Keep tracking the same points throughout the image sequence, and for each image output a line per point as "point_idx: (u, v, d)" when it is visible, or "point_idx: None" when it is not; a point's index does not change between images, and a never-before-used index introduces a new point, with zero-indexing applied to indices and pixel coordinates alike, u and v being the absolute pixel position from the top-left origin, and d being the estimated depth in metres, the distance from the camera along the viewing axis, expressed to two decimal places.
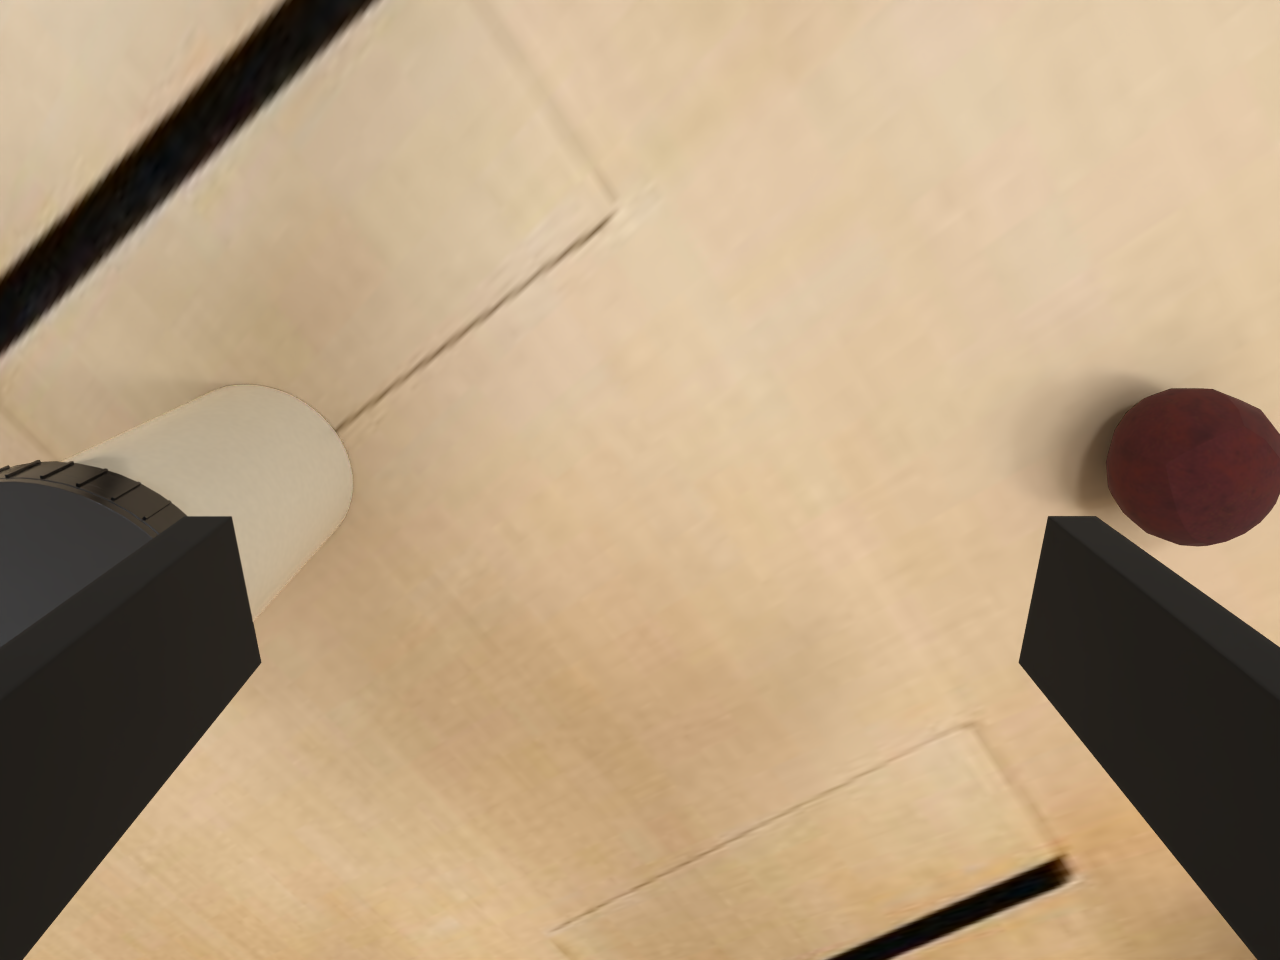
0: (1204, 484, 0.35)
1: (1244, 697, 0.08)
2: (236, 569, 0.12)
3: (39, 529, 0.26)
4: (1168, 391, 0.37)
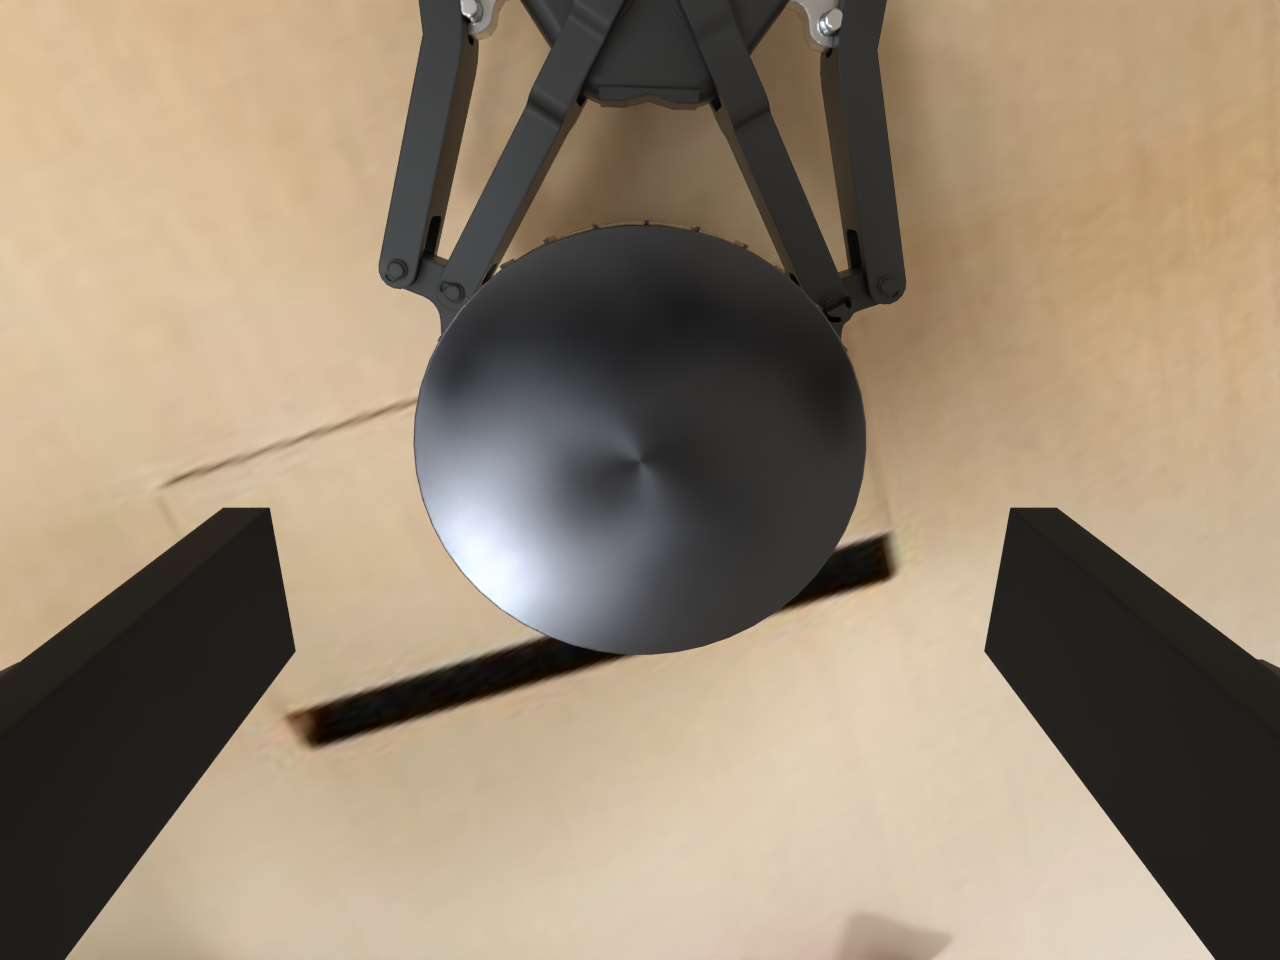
0: None
1: (1181, 678, 0.09)
2: (274, 559, 0.13)
3: (574, 587, 0.20)
4: None
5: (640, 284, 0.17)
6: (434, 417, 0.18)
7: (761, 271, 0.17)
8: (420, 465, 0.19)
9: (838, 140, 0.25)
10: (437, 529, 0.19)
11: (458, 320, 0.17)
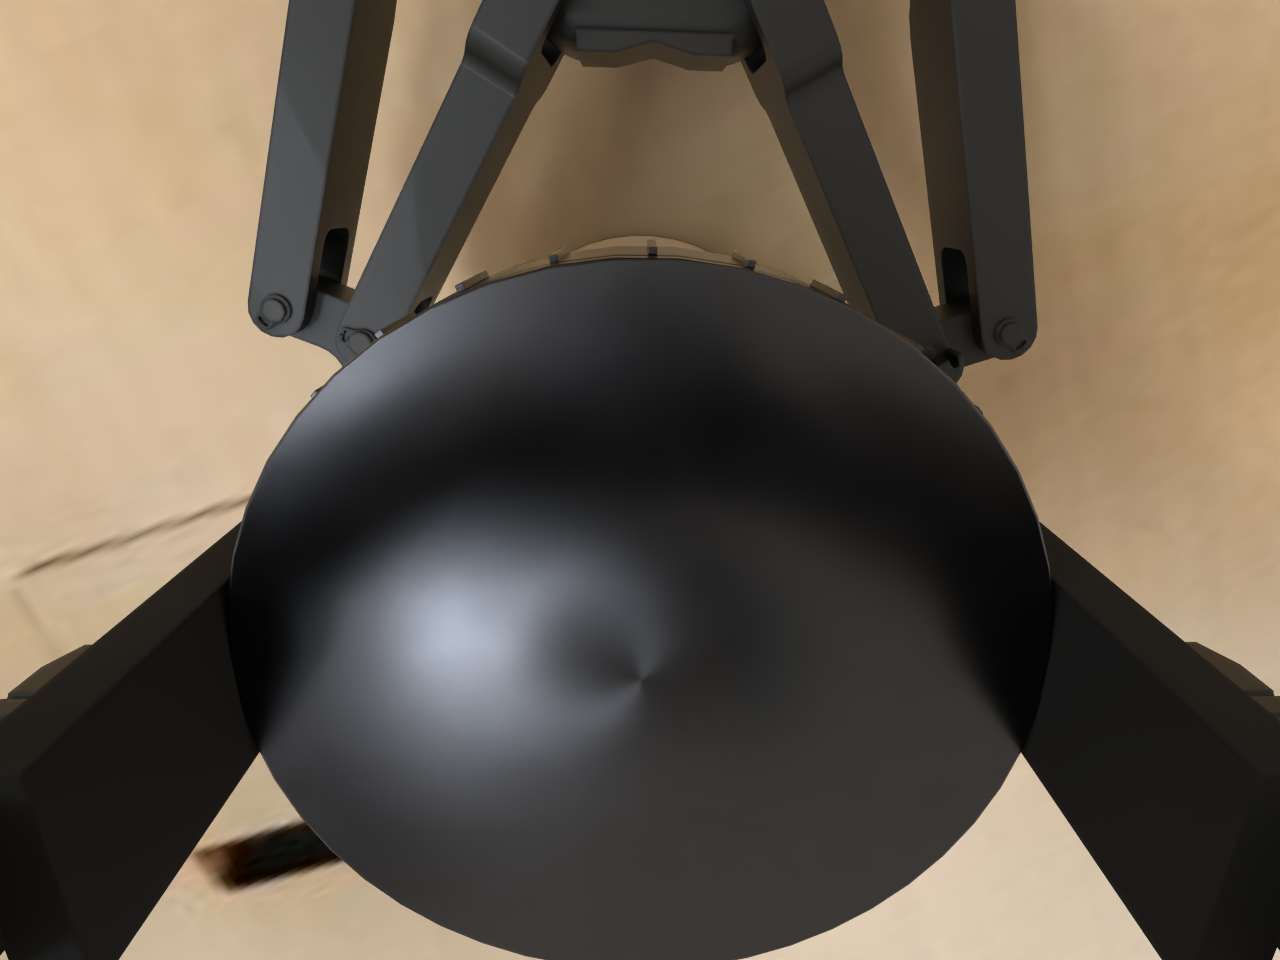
0: None
1: (1110, 657, 0.09)
2: None
3: (527, 873, 0.12)
4: None
5: (640, 370, 0.09)
6: (263, 606, 0.10)
7: (876, 347, 0.09)
8: (244, 685, 0.10)
9: (938, 115, 0.16)
10: (283, 786, 0.11)
11: (294, 437, 0.09)
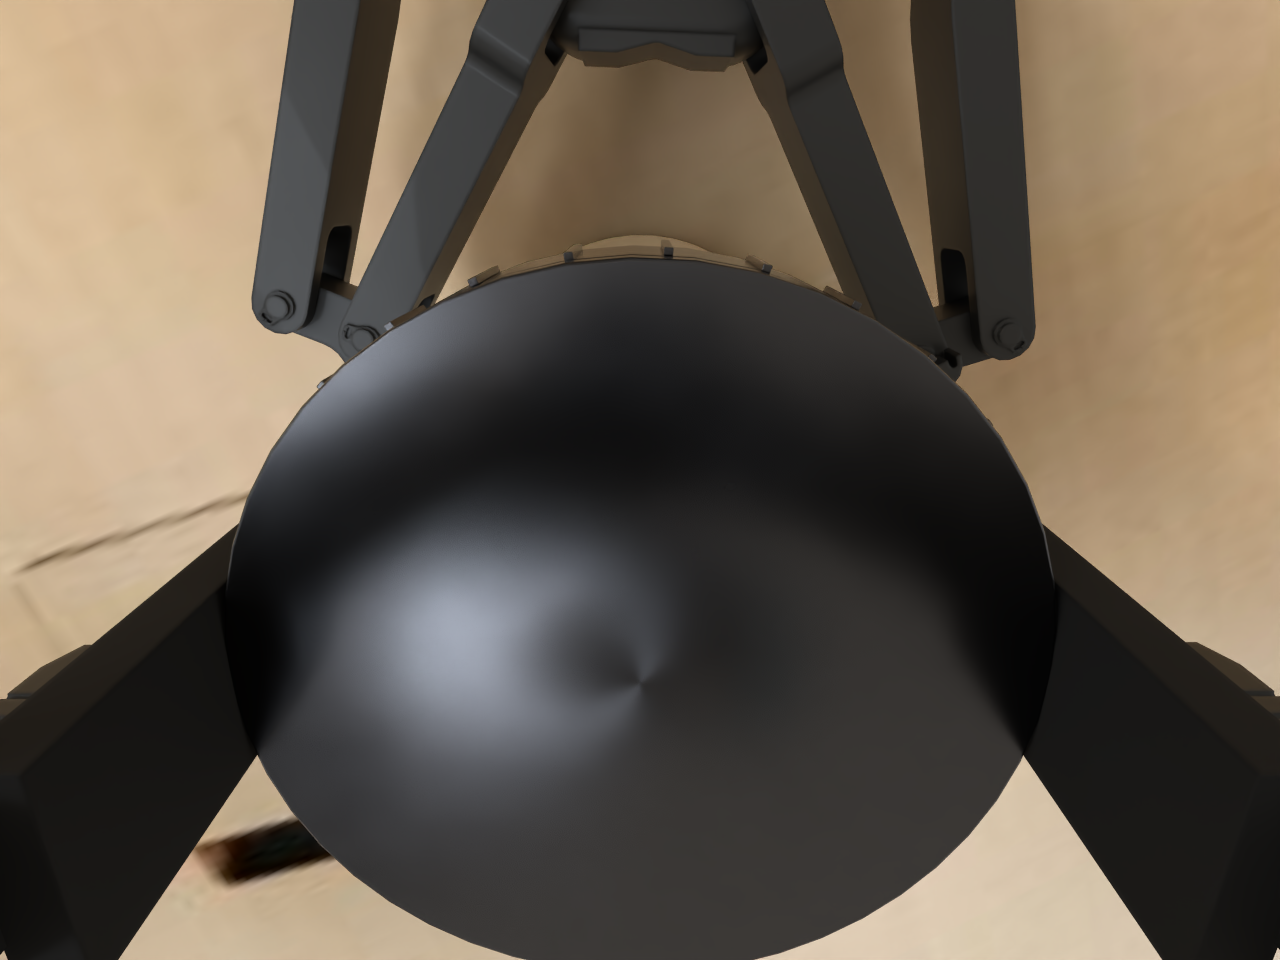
0: None
1: (1111, 657, 0.09)
2: None
3: (927, 675, 0.10)
4: None
5: (379, 800, 0.11)
6: (724, 945, 0.12)
7: (245, 664, 0.10)
8: (807, 938, 0.12)
9: (938, 117, 0.17)
10: (904, 888, 0.12)
11: None
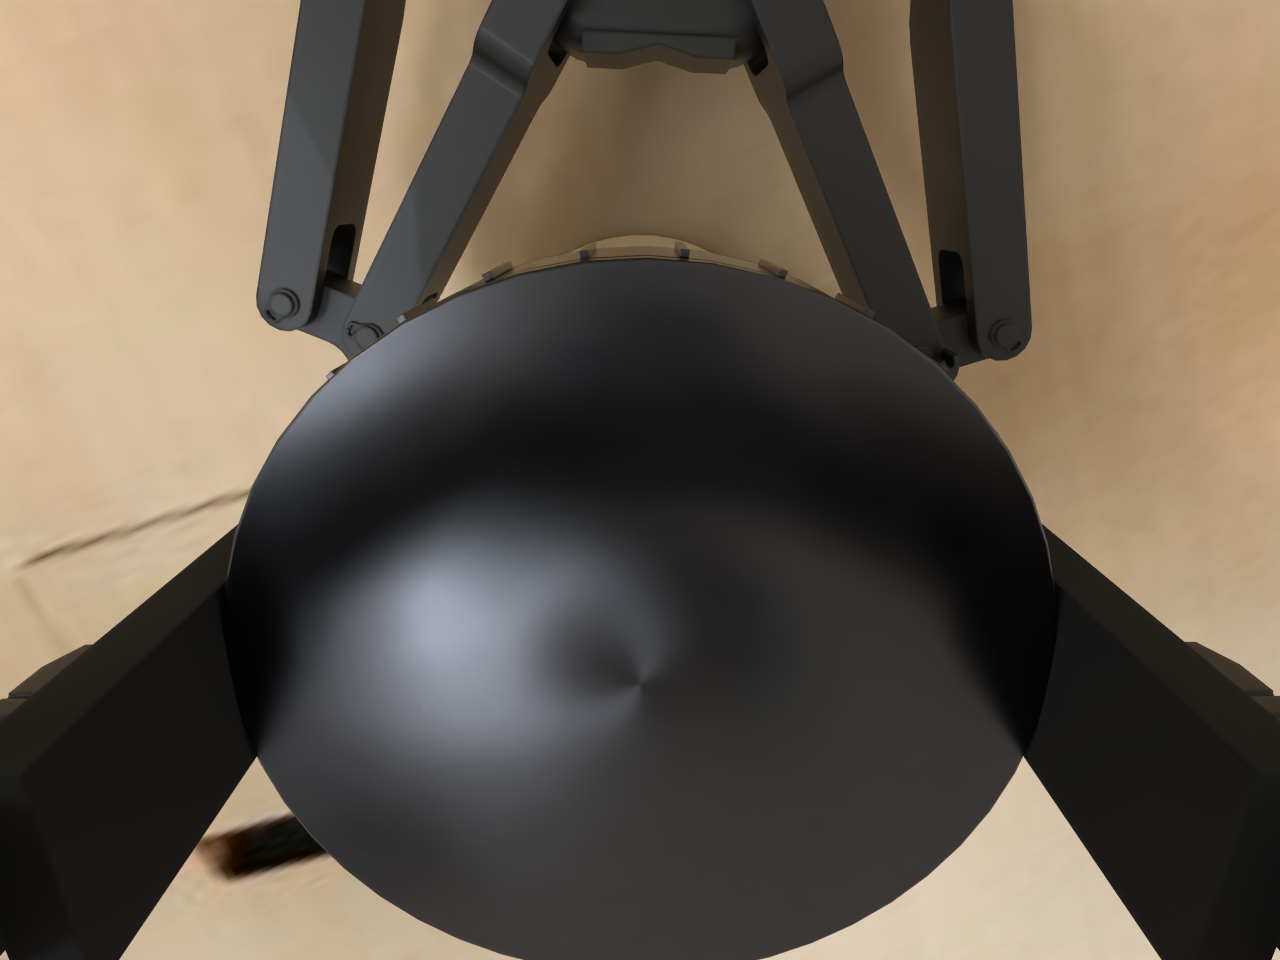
0: None
1: (1110, 657, 0.09)
2: None
3: (479, 447, 0.09)
4: None
5: (882, 821, 0.11)
6: (949, 437, 0.09)
7: (782, 941, 0.12)
8: (896, 350, 0.09)
9: (937, 119, 0.17)
10: (762, 283, 0.08)
11: (1045, 581, 0.10)
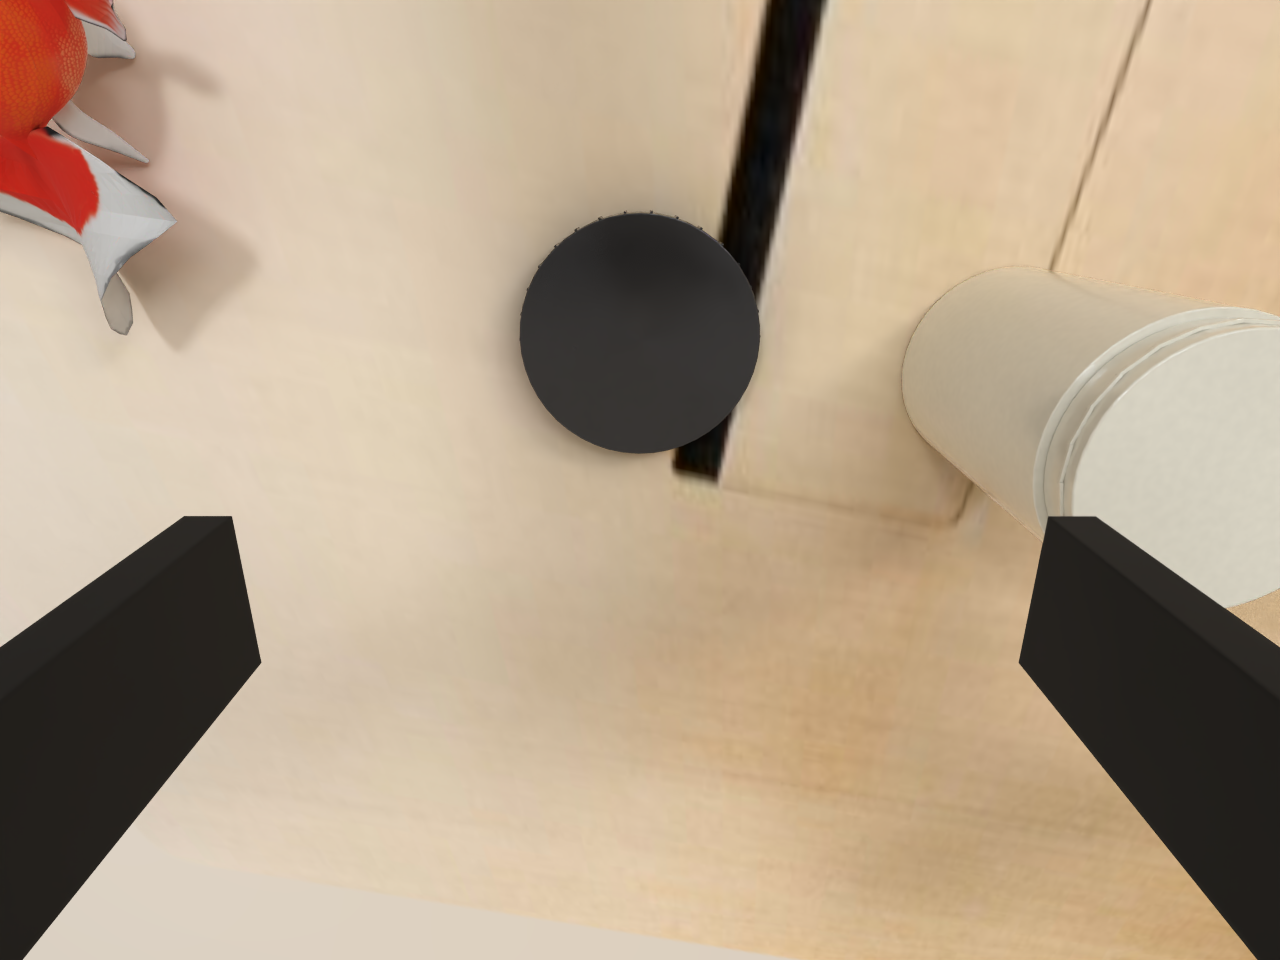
0: None
1: (1245, 697, 0.08)
2: (236, 569, 0.12)
3: (596, 264, 0.34)
4: None
5: (714, 390, 0.36)
6: (722, 261, 0.34)
7: (686, 439, 0.37)
8: (706, 237, 0.34)
9: None
10: (670, 219, 0.33)
11: (753, 305, 0.35)
